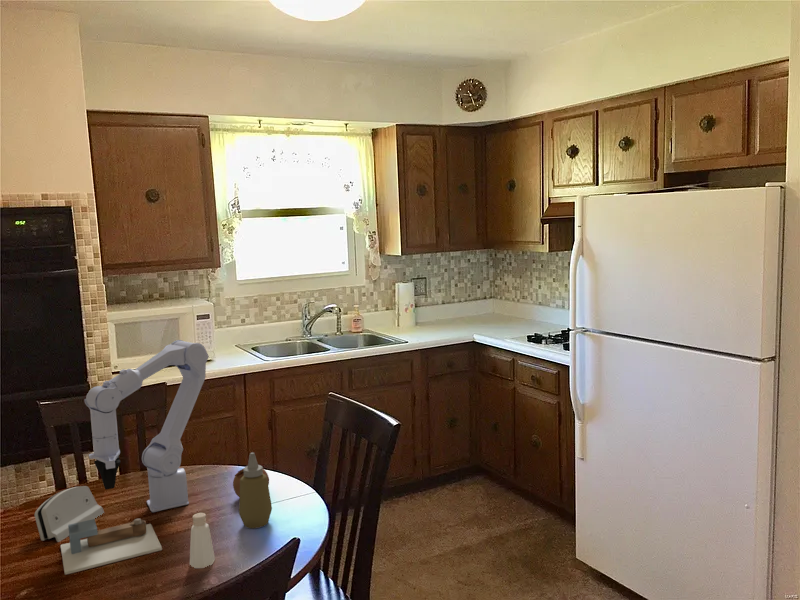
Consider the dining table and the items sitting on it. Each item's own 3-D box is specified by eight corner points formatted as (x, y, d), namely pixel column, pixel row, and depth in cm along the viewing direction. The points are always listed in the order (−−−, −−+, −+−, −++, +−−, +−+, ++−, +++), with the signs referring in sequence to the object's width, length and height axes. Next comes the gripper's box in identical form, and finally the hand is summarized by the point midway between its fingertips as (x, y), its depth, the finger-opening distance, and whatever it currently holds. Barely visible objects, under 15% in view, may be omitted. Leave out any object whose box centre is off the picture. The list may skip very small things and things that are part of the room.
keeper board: (150, 525, 166) (149, 504, 166) (162, 549, 154) (160, 526, 153) (60, 547, 156) (58, 524, 156) (64, 574, 144) (62, 550, 143)
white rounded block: (57, 542, 159) (42, 503, 158) (42, 547, 160) (27, 508, 160) (105, 512, 175) (91, 476, 175) (91, 516, 176) (77, 481, 176)
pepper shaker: (191, 571, 144) (187, 522, 142) (188, 559, 149) (184, 512, 147) (216, 565, 146) (213, 517, 145) (213, 554, 151) (210, 507, 150)
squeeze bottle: (279, 522, 166) (275, 452, 164) (251, 534, 160) (247, 461, 158) (260, 513, 171) (256, 445, 169) (232, 524, 165) (228, 454, 163)
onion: (243, 514, 178) (226, 487, 174) (242, 491, 187) (226, 465, 182) (276, 499, 179) (260, 472, 175) (273, 477, 188) (258, 451, 183)
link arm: (145, 527, 163) (144, 515, 163) (147, 533, 160) (146, 520, 159) (87, 542, 156) (86, 528, 156) (89, 548, 153) (87, 534, 153)
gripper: (84, 430, 169) (89, 481, 171) (90, 446, 157) (95, 501, 158) (114, 425, 173) (118, 476, 174) (122, 440, 160) (126, 495, 162)
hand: (109, 487), depth 167 cm, fingers closed
